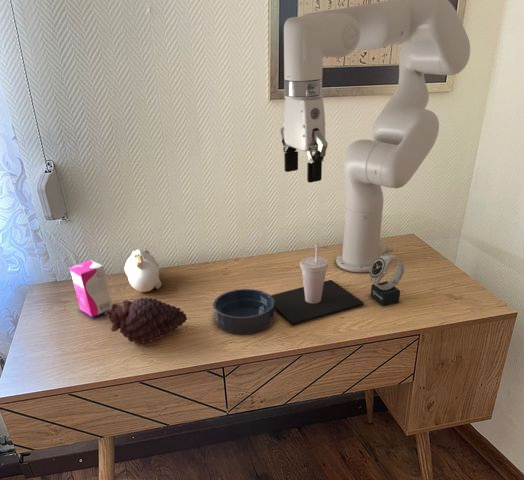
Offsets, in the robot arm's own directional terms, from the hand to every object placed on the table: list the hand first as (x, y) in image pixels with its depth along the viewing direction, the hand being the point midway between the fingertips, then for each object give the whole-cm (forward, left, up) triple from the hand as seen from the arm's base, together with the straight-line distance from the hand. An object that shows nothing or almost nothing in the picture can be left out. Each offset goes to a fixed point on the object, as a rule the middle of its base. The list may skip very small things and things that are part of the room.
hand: (302, 175), depth 115 cm
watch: (-15, +14, -28) cm, 35 cm away
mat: (+1, +7, -28) cm, 29 cm away
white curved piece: (+33, -23, -28) cm, 49 cm away
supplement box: (+47, -15, -28) cm, 57 cm away
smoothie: (+1, +7, -27) cm, 28 cm away
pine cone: (+39, +3, -28) cm, 48 cm away
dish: (+18, +6, -28) cm, 34 cm away
